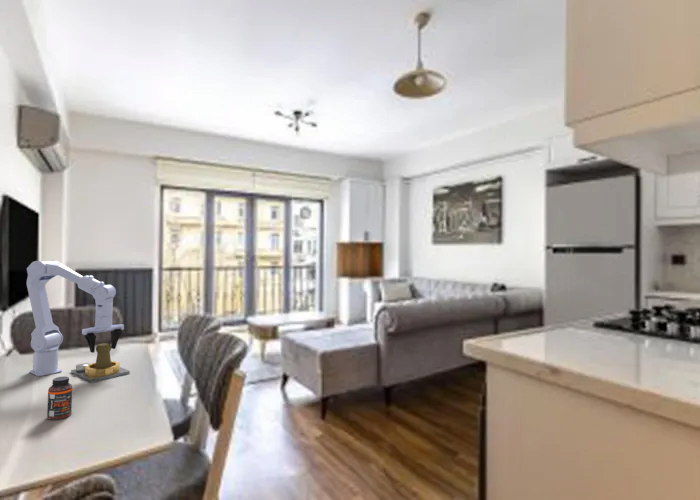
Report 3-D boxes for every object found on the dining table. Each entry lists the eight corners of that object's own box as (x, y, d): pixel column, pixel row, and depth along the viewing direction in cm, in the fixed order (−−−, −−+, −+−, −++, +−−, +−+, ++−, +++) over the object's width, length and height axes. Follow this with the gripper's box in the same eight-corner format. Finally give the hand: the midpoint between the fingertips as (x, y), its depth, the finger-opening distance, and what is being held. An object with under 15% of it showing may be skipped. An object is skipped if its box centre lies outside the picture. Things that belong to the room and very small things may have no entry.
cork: (104, 374, 156) (104, 346, 155) (90, 373, 156) (90, 345, 156) (115, 370, 162) (116, 342, 161) (102, 368, 162) (102, 341, 162)
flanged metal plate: (71, 372, 160) (71, 363, 160) (108, 364, 171) (109, 356, 171) (90, 382, 149) (90, 373, 149) (129, 373, 161) (129, 364, 161)
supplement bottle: (52, 422, 116) (53, 383, 116) (43, 417, 119) (44, 378, 119) (75, 415, 121) (76, 377, 121) (66, 410, 124) (67, 373, 124)
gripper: (87, 319, 151) (86, 355, 151) (128, 314, 163) (127, 348, 163) (80, 317, 155) (79, 352, 155) (119, 312, 167) (118, 345, 167)
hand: (103, 350), depth 159 cm, fingers open, 7 cm apart
